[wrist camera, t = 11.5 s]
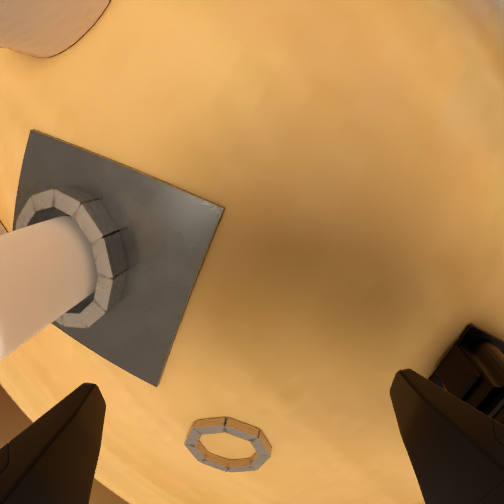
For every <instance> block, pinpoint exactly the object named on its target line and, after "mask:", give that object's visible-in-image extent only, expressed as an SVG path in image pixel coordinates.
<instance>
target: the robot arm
mask: <svg viewBox="0 0 504 504" xmlns="http://www.w3.org/2000/svg"><path fill="white" fill-rule="evenodd" d="M471 330H472V331H471ZM470 331H471V332H470ZM390 397H391V400H392V404H393V407H394V411H395V415H396V419H397V422H398V426H399V430H400V433H401V436H402V439H403V442H404V444H405V447H406V450H407V452H408V455H409V458H410V461H411V463H412V466H413V469H414V472H415V474H416V477H417V480H418V483H419V486H420V489H421V492H422V495H423V498H424V501H425V504H504V341H502V340H500V339H499V338H497V337H495V336H493V335H491V334H489V333H488V332H486V331H484V330H482V329H480V328H478V327H477V326H475V325H472V324H471V325H469V326H467V328H466V329H465V331H464V332H463V334H462V335H461V337H460V338H459V339H458V341H457V342H456V344H455V345H454V347H453V348H452V350H451V351H450V352H449V354H448V355H447V356H446V358H445V359H444V361H443V362H442V363H441V365H440V366H439V367H438V368H437V370H436V371H435V372H434V374H433V375H432V376H431V377H430V379H429V380H428V379H426V378H424V377H423V376H421V375H419V374H418V373H416V372H415V371H413V370H411V369H404V370H399V371H398V372H397V373H396V375H395V378H394V380H393V383H392V386H391V388H390ZM105 411H106V404H105V400H104V398H103V396H102V394H101V392H100V390H99V388H98V386H97V385H96V384H92V383H83V384H82V385H80V386H79V387H78V388H77V389H75V390H74V391H73V392H72V393H70V394H69V395H68V396H66V397H65V398H64V399H63V400H61V401H60V402H59V403H58V404H56V405H55V406H54V407H53V408H51V409H50V410H49V411H48V412H46V413H45V414H44V415H43V416H41V417H40V418H39V419H37V420H36V421H35V422H34V423H33V424H31V425H30V426H29V427H27V428H26V429H25V430H24V431H22V432H21V433H20V434H19V435H17V436H16V437H15V438H14V439H12V440H11V441H10V442H9V443H7V444H6V445H5V446H3V447H2V448H1V449H0V504H89V499H90V493H91V488H92V483H93V479H94V474H95V470H96V465H97V461H98V457H99V452H100V447H101V440H102V432H103V424H104V417H105Z"/></svg>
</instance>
